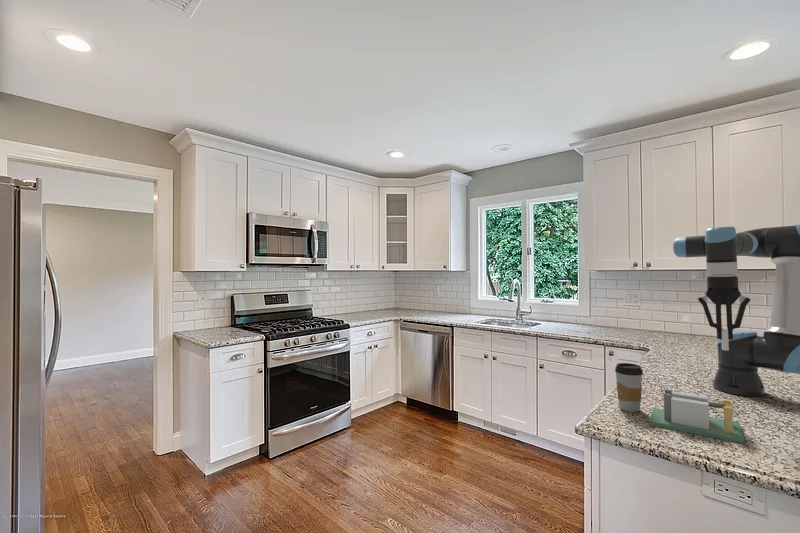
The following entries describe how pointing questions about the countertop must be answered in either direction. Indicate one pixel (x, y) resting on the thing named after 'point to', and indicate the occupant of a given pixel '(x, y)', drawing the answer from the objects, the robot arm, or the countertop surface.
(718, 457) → the countertop surface
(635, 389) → the coffee cup
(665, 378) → the countertop surface
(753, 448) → the countertop surface
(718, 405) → the strap
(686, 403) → the heatsink base
